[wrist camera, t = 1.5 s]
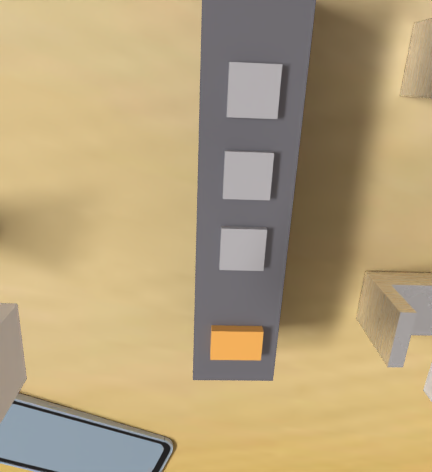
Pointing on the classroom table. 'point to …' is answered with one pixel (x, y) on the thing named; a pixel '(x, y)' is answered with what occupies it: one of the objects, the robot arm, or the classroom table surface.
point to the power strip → (246, 179)
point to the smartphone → (75, 441)
